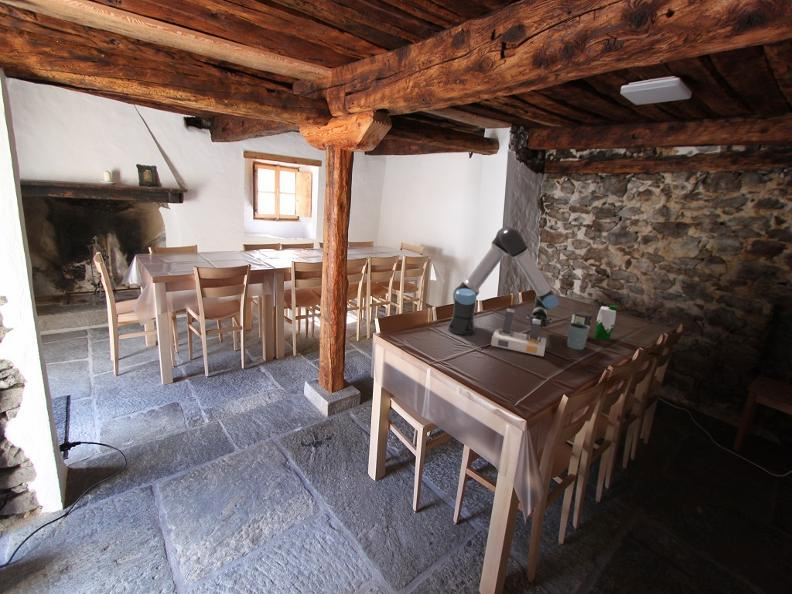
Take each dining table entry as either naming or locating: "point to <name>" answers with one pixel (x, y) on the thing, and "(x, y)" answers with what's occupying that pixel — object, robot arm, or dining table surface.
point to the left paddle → (508, 320)
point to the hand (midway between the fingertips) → (537, 327)
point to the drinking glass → (577, 335)
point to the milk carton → (605, 322)
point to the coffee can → (582, 318)
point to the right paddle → (535, 329)
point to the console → (518, 342)
